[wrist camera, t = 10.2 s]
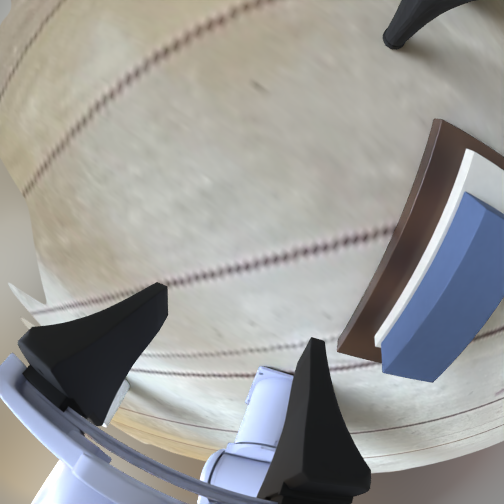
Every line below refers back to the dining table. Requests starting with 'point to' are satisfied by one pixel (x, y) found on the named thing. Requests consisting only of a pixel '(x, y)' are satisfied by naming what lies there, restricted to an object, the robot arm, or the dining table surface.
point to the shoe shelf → (411, 235)
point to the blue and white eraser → (451, 279)
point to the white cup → (116, 402)
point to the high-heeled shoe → (415, 18)
